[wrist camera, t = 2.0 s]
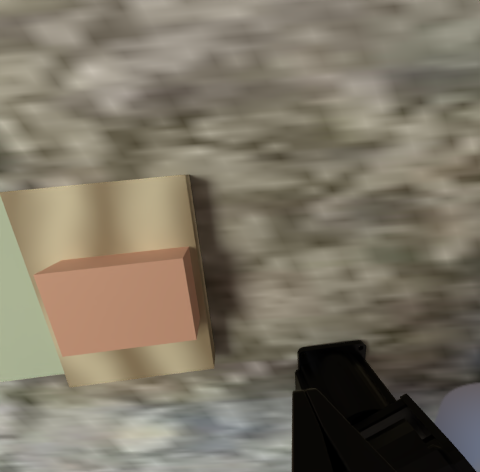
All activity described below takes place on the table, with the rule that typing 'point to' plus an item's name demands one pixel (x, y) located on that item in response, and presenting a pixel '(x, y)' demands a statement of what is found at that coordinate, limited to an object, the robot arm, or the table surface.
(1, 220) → the sage mat
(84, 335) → the coral tile
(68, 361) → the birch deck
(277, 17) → the table surface
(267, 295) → the table surface
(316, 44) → the table surface
